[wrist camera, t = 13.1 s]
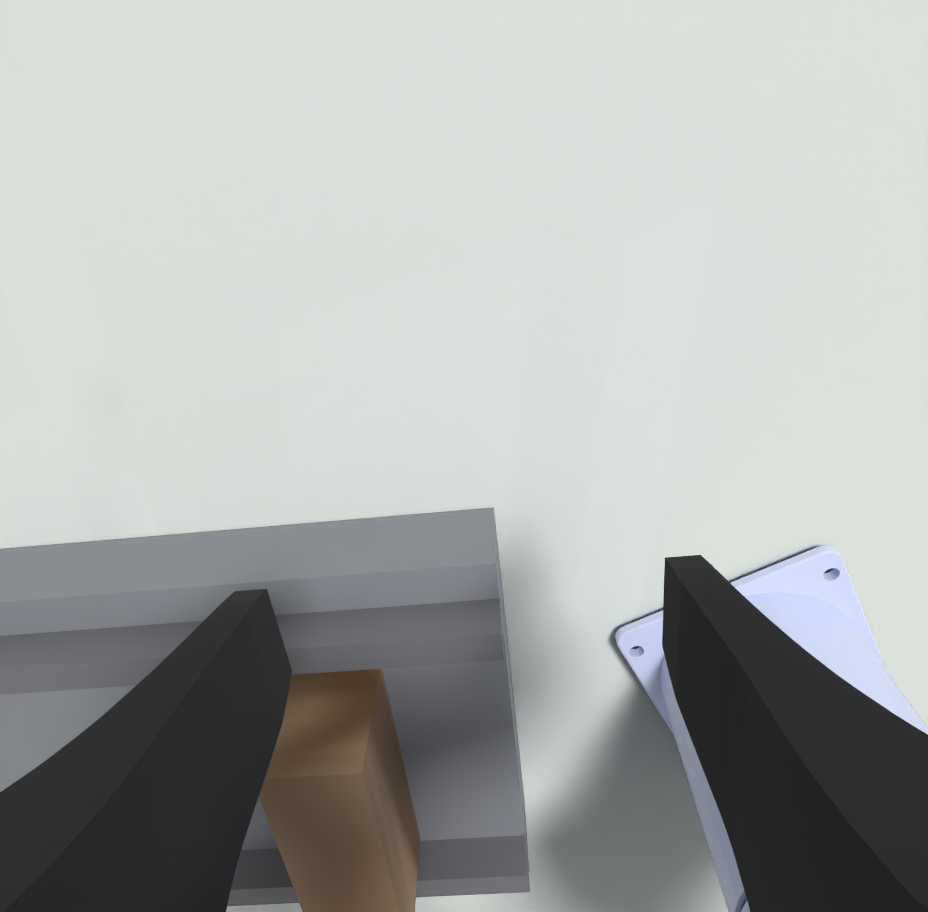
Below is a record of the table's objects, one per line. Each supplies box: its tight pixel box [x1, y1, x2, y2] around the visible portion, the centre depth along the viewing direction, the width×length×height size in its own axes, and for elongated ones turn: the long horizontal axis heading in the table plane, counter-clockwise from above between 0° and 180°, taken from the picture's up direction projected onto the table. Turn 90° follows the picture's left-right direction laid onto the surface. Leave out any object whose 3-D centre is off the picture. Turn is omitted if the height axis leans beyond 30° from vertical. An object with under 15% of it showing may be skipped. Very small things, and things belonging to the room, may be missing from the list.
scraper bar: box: [259, 669, 420, 912], centre depth 22 cm, size 3×9×4 cm, turn 6°
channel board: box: [0, 508, 530, 906], centre depth 24 cm, size 20×15×4 cm
